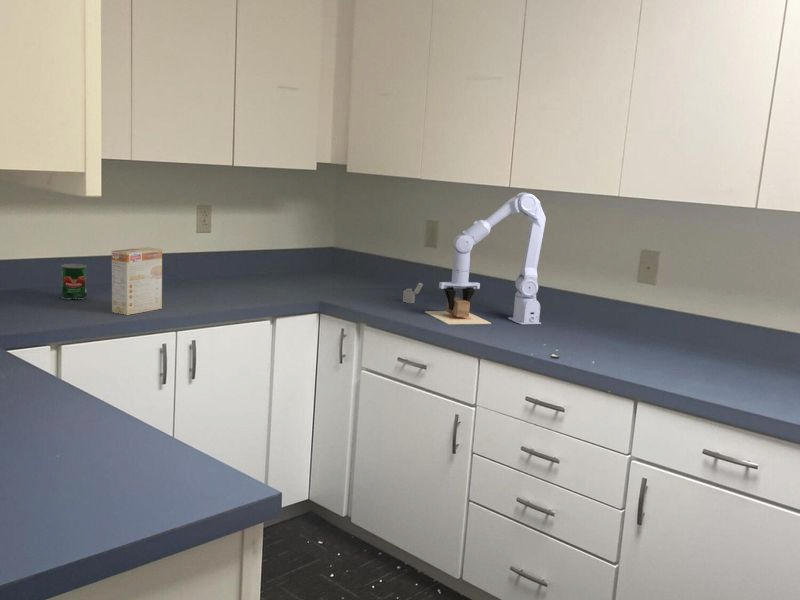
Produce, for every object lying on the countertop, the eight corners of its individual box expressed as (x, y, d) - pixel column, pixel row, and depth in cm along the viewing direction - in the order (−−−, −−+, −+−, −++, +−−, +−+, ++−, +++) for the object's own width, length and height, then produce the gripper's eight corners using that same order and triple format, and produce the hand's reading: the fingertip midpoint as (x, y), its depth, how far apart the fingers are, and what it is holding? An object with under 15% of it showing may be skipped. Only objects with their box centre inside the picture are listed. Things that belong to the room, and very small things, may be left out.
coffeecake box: (146, 305, 262) (147, 246, 259) (162, 309, 259) (163, 249, 256) (110, 312, 249) (110, 250, 246) (127, 315, 246) (127, 252, 243)
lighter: (402, 302, 299) (403, 281, 298) (404, 301, 301) (405, 280, 299) (420, 304, 296) (421, 283, 295) (421, 304, 298) (423, 282, 297)
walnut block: (446, 311, 279) (447, 297, 278) (457, 311, 280) (459, 297, 280) (456, 316, 271) (458, 302, 270) (468, 316, 272) (470, 302, 271)
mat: (491, 323, 270) (491, 322, 269) (447, 324, 264) (447, 323, 264) (465, 311, 288) (465, 310, 288) (424, 312, 282) (424, 311, 282)
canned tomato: (68, 301, 262) (68, 267, 260) (56, 297, 267) (56, 264, 265) (91, 298, 268) (91, 266, 266) (79, 295, 273) (79, 263, 271)
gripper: (474, 268, 279) (471, 306, 282) (436, 268, 274) (433, 307, 276) (483, 271, 273) (480, 310, 275) (445, 271, 268) (442, 311, 270)
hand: (457, 309), depth 275 cm, fingers closed on walnut block, 4 cm apart
